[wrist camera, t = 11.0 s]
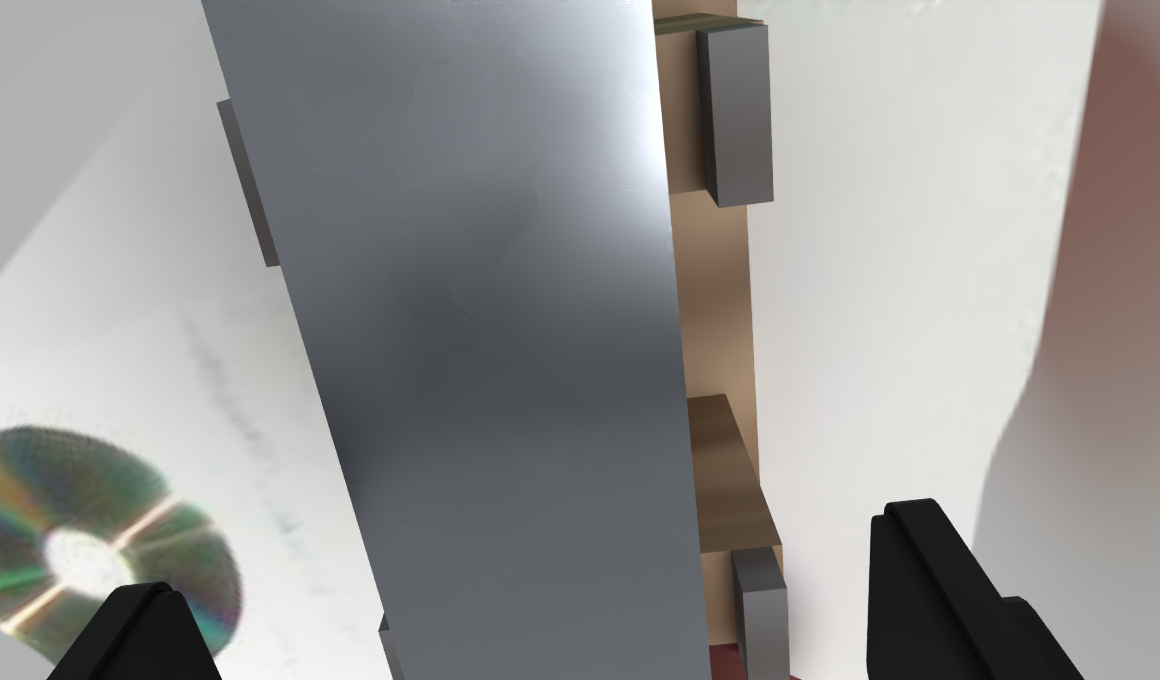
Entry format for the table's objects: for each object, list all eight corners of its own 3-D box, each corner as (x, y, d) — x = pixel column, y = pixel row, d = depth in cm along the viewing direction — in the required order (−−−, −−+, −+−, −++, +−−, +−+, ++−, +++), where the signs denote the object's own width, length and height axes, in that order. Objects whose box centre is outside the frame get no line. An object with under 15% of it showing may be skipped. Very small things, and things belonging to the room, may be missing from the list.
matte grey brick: (343, -12, 14) (195, -19, 9) (617, -53, 14) (643, -86, 8) (510, 706, 21) (486, 952, 16) (693, 687, 21) (733, 931, 16)
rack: (316, 10, 23) (115, 20, 13) (724, -50, 23) (843, -88, 12) (440, 512, 30) (371, 769, 20) (752, 477, 30) (842, 723, 20)
